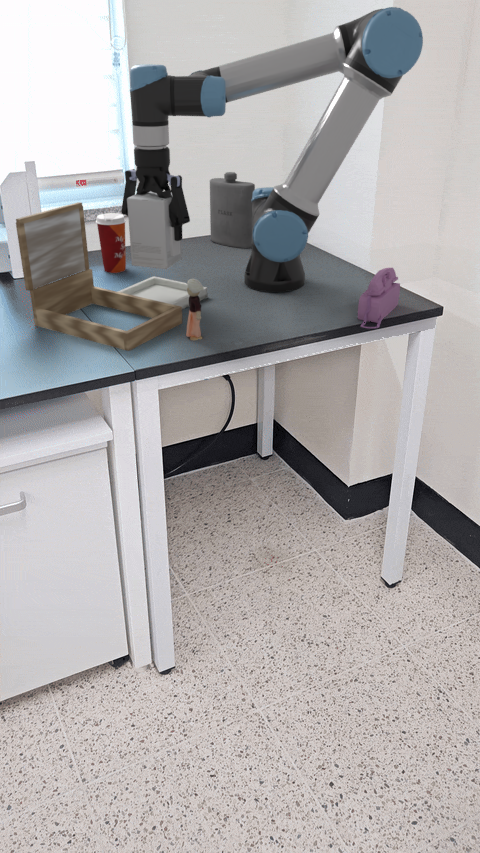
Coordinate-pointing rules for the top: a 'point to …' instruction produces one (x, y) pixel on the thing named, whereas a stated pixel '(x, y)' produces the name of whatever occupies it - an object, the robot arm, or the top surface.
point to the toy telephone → (379, 297)
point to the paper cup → (112, 241)
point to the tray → (163, 291)
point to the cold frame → (79, 282)
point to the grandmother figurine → (194, 309)
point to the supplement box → (150, 231)
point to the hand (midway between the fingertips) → (156, 250)
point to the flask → (231, 211)
